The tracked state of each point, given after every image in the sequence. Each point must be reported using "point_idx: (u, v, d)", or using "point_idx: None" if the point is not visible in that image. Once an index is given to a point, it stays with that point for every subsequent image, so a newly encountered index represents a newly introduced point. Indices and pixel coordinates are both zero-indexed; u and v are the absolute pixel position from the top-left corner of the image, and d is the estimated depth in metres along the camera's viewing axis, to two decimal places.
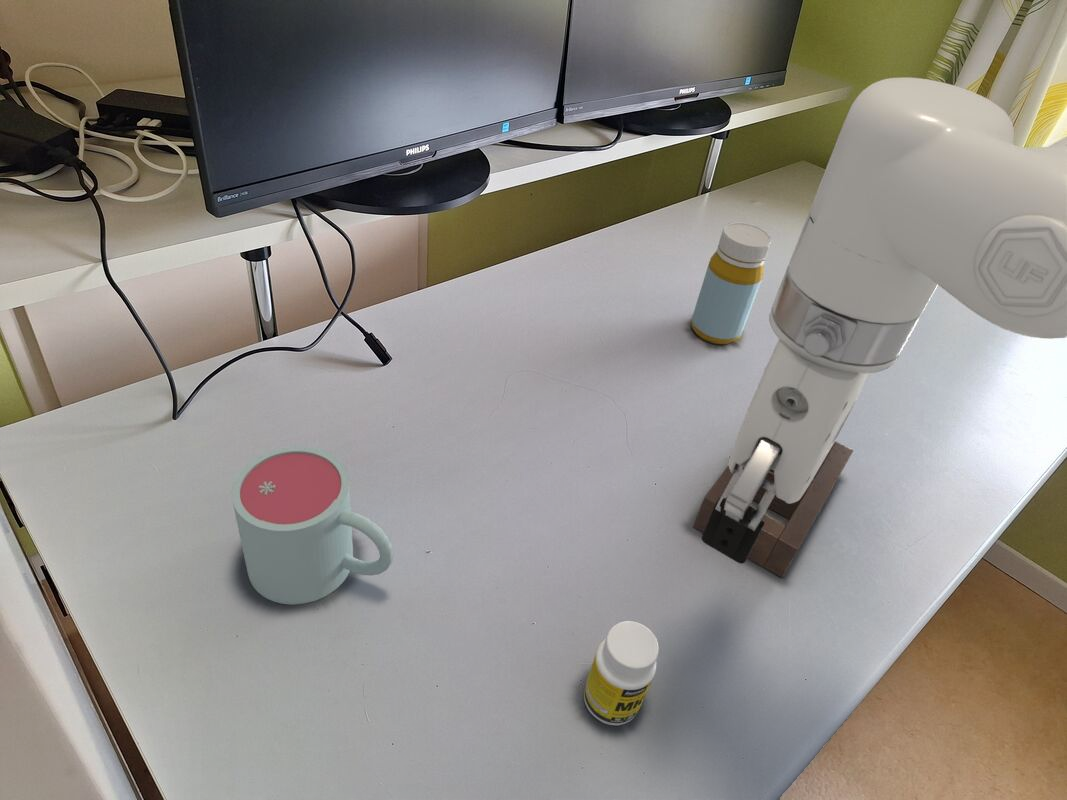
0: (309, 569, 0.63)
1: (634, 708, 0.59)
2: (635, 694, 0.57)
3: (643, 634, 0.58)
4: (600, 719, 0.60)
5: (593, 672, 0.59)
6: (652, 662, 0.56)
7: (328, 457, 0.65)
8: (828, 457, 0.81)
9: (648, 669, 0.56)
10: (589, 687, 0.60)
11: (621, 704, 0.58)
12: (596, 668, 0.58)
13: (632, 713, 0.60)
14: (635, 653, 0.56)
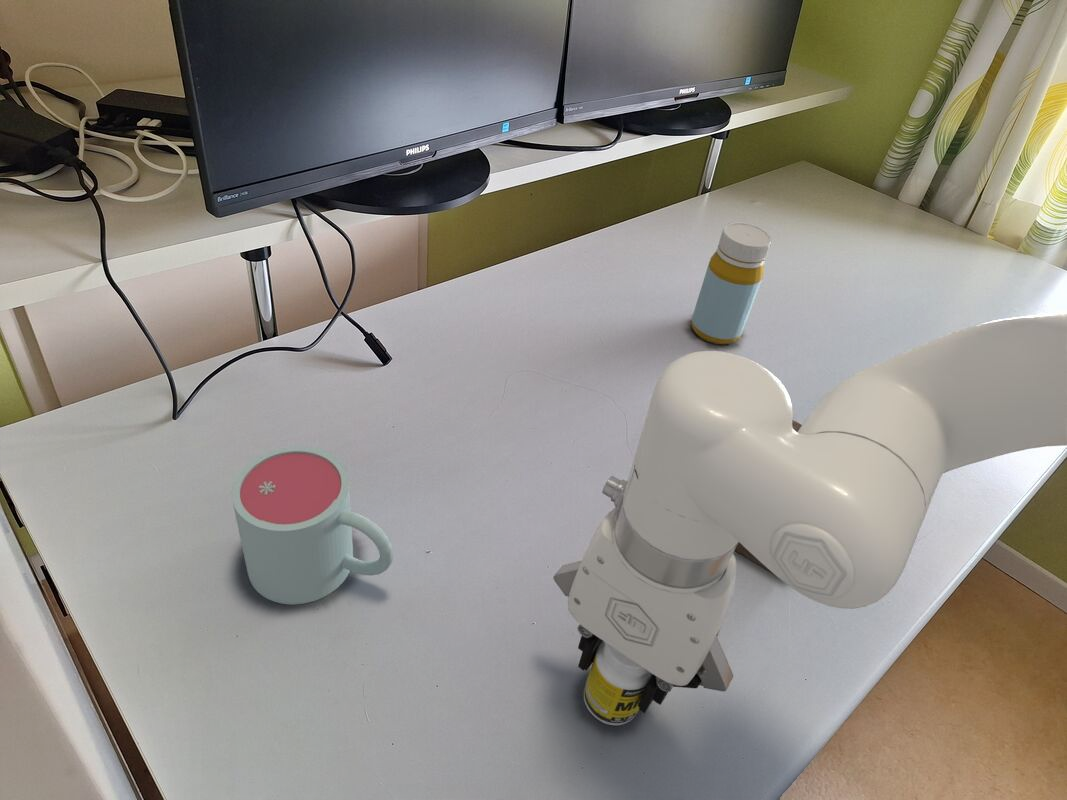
0: (309, 569, 0.63)
1: (634, 708, 0.59)
2: (635, 694, 0.57)
3: None
4: (600, 719, 0.60)
5: (593, 672, 0.59)
6: None
7: (328, 457, 0.65)
8: None
9: None
10: (589, 687, 0.60)
11: (621, 704, 0.58)
12: (596, 668, 0.58)
13: (632, 713, 0.60)
14: None
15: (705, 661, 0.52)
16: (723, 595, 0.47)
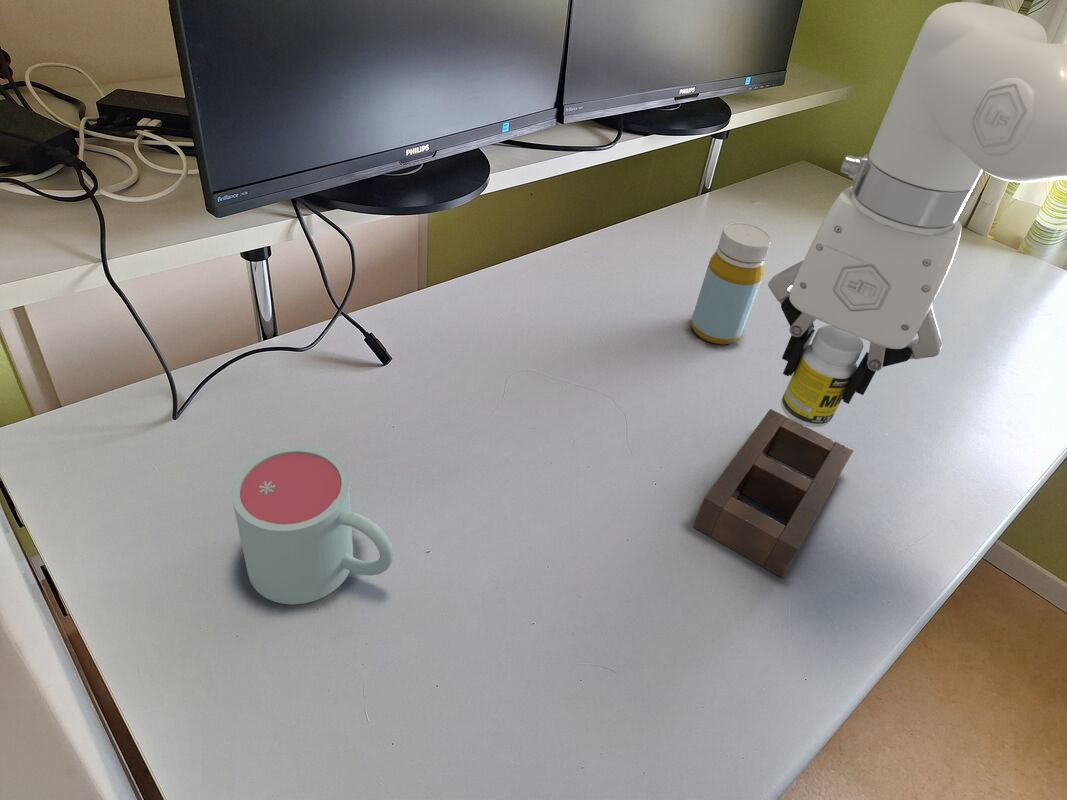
0: (309, 569, 0.63)
1: (834, 406, 0.67)
2: (841, 385, 0.65)
3: (847, 333, 0.65)
4: (801, 421, 0.68)
5: (799, 373, 0.67)
6: (860, 350, 0.64)
7: (328, 457, 0.65)
8: (828, 457, 0.81)
9: (856, 357, 0.64)
10: (792, 392, 0.68)
11: (826, 398, 0.66)
12: (804, 366, 0.66)
13: (831, 413, 0.68)
14: (845, 344, 0.64)
15: (921, 327, 0.60)
16: (957, 239, 0.55)
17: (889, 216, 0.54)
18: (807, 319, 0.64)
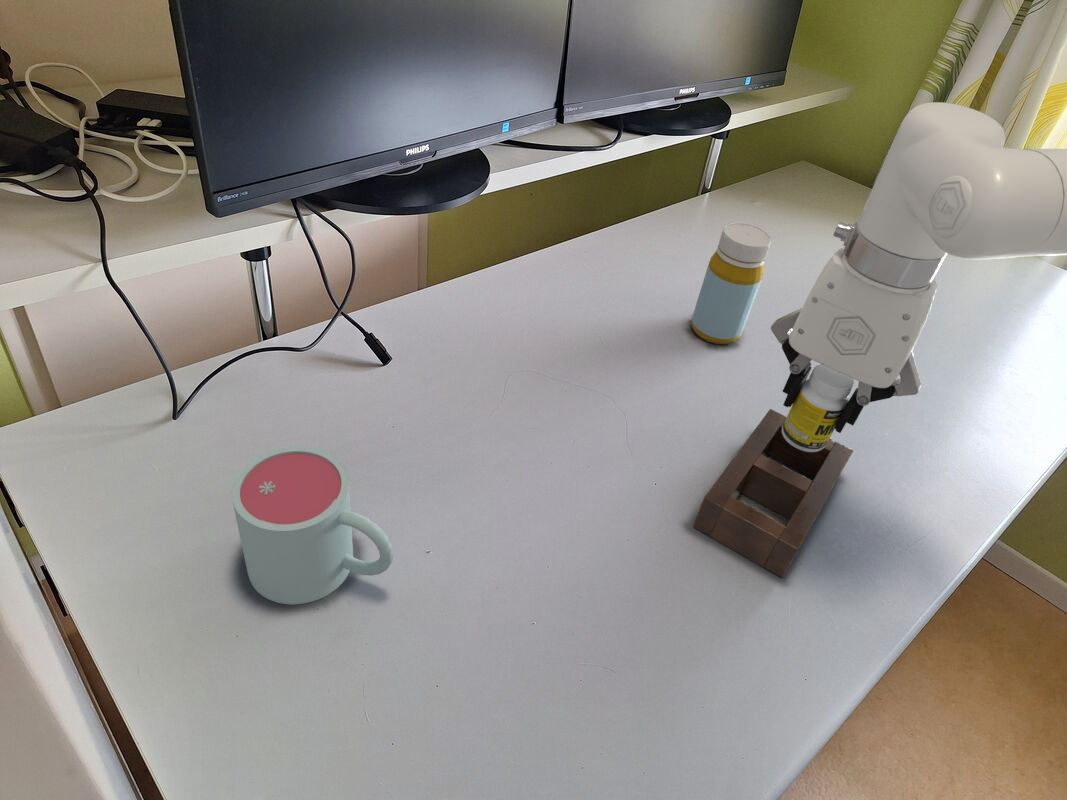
0: (309, 569, 0.63)
1: (828, 434, 0.77)
2: (834, 416, 0.75)
3: None
4: (799, 446, 0.78)
5: (798, 405, 0.76)
6: (851, 386, 0.73)
7: (328, 457, 0.65)
8: (828, 457, 0.81)
9: (847, 393, 0.73)
10: (791, 421, 0.77)
11: (821, 427, 0.75)
12: (802, 399, 0.75)
13: (825, 440, 0.77)
14: (837, 381, 0.74)
15: (902, 370, 0.69)
16: (932, 297, 0.64)
17: (873, 278, 0.63)
18: (804, 359, 0.74)
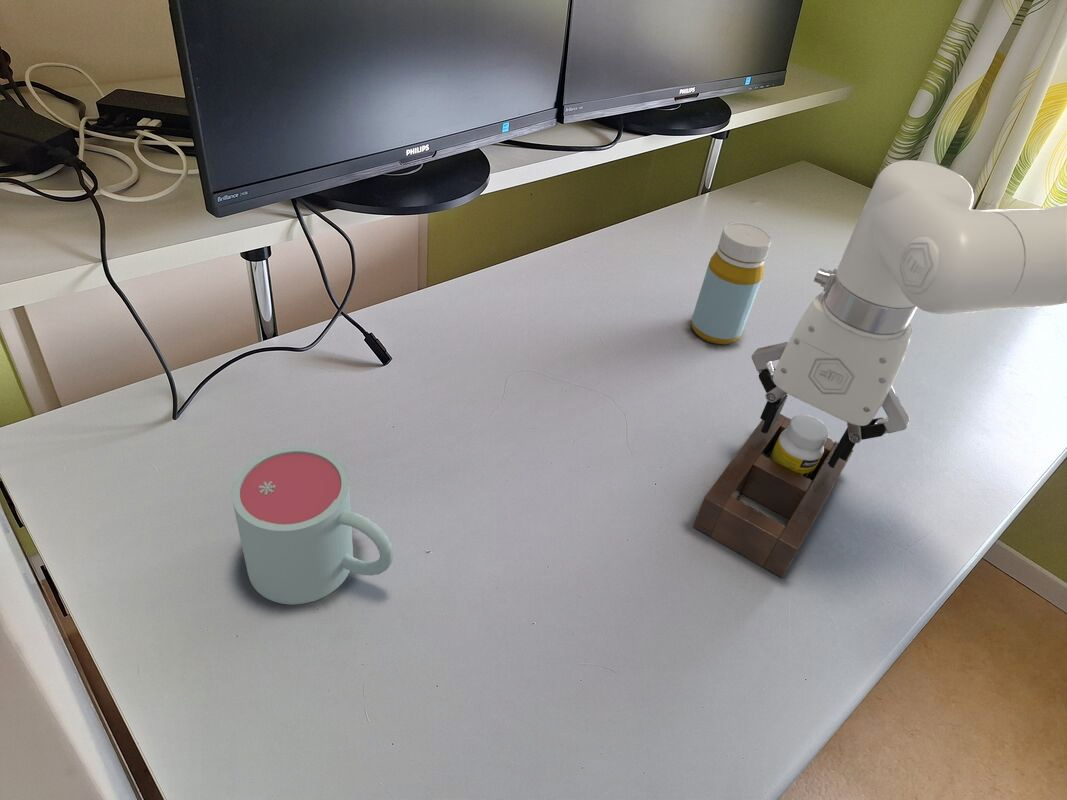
0: (309, 569, 0.63)
1: None
2: (810, 465, 0.79)
3: (816, 422, 0.79)
4: None
5: (776, 453, 0.80)
6: (825, 438, 0.78)
7: (328, 457, 0.65)
8: (828, 457, 0.81)
9: (822, 444, 0.78)
10: None
11: None
12: (780, 448, 0.80)
13: None
14: (813, 432, 0.78)
15: (887, 407, 0.72)
16: (907, 342, 0.67)
17: (851, 324, 0.67)
18: (780, 388, 0.77)
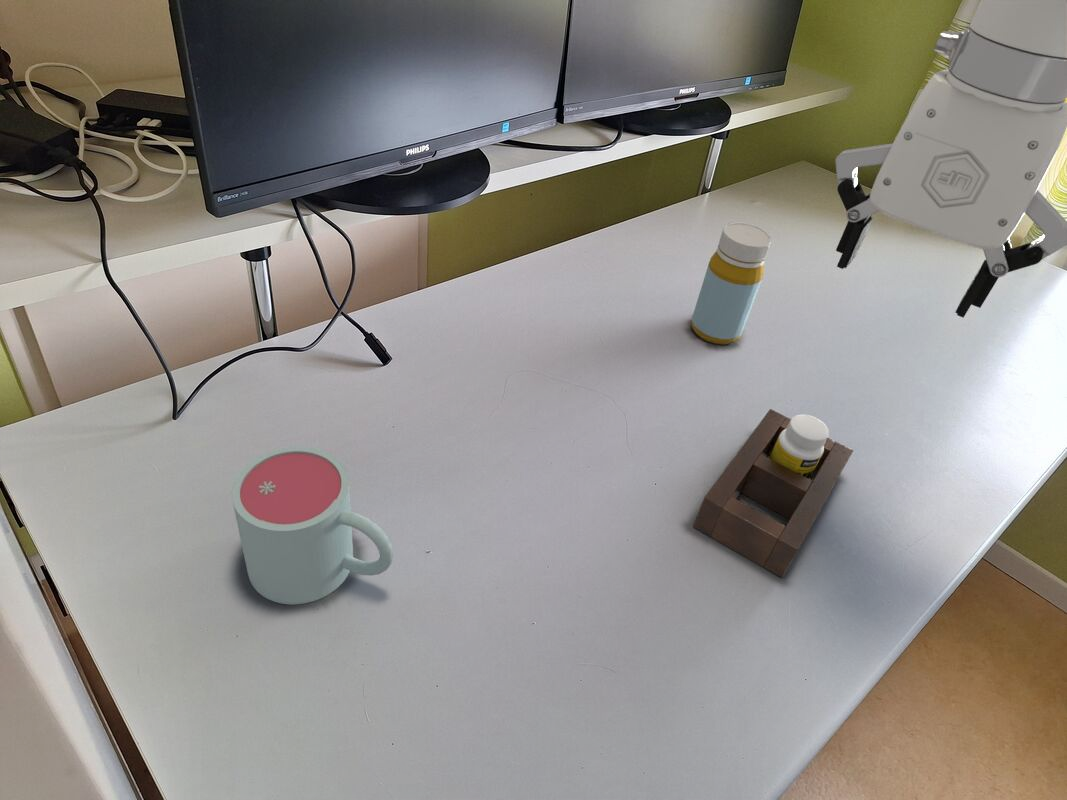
0: (309, 569, 0.63)
1: None
2: (810, 464, 0.79)
3: (815, 422, 0.79)
4: None
5: (776, 453, 0.80)
6: (825, 438, 0.78)
7: (328, 457, 0.65)
8: (828, 457, 0.81)
9: (822, 443, 0.78)
10: None
11: None
12: (780, 448, 0.80)
13: None
14: (813, 432, 0.78)
15: (1039, 218, 0.54)
16: None
17: (994, 90, 0.49)
18: (867, 200, 0.59)
